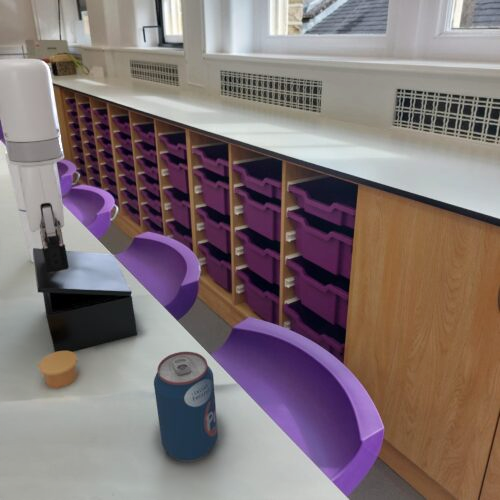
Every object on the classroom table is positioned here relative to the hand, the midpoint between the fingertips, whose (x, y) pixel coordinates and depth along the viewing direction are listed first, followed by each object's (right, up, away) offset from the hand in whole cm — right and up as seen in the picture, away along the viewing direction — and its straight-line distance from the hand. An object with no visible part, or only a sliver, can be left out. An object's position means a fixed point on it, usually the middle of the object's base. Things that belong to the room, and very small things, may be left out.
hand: (56, 260), depth 78 cm
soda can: (+24, -23, -17) cm, 37 cm away
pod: (+4, -18, -7) cm, 20 cm away
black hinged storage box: (+3, -12, +7) cm, 15 cm away
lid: (+3, -2, +2) cm, 4 cm away
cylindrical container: (-16, 0, +35) cm, 39 cm away
